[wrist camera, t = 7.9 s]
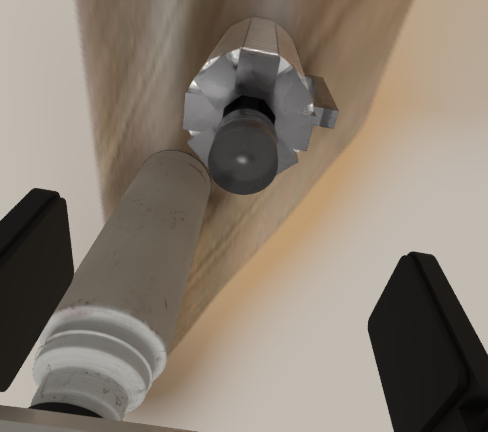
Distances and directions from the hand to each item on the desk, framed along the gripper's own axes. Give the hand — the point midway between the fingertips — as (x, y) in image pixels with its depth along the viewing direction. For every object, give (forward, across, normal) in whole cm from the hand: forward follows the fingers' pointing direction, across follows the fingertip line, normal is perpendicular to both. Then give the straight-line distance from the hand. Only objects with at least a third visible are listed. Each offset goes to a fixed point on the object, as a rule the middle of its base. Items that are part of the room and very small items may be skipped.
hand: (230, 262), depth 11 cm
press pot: (+29, 0, +1) cm, 29 cm away
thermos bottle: (+29, +6, +15) cm, 33 cm away
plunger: (+26, 0, +1) cm, 26 cm away
